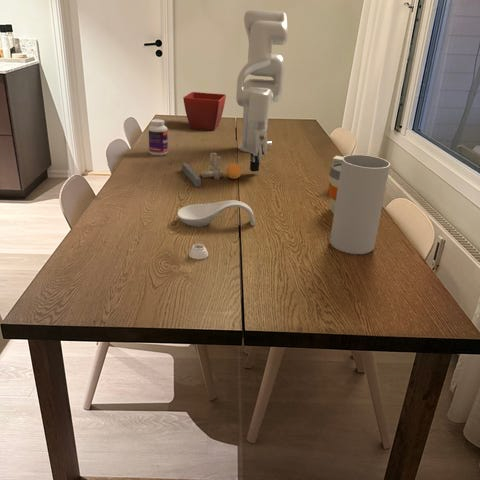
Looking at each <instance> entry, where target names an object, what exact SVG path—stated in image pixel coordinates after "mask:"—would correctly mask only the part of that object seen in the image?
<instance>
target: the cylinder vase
mask: <svg viewBox="0 0 480 480" xmlns="http://www.w3.org/2000/svg"><path fill="white" fill-rule="evenodd" d="M342 157H343V158H342V164H341V171H340V177H339V184H338V191H337V197H336V204H335V210H334V213H333V218H332V224H331V232H330V238H329V243H330V245H331V246H332V247H333V248H334V249H336V250H337V251H339V252H342V253H344V252H345V254H348V253H349V255H358V254H359V255H365V254H369V253H371V252H372V251H373V250H374V249H375V246H376V239H377V235H378V230H379V224H380V221H381V220H380V219H381V215H382V208H383V204H384V199H385V194H386V189H387V184H388V179H389V174H390V173H389V172H390V167H391V163H390V162H389V161H388V160H386V159H385V158H381V157H377V156H374V155H367V154H347V155H344V156H342Z"/></svg>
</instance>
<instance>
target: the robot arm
mask: <svg viewBox="0 0 480 480" xmlns="http://www.w3.org/2000/svg"><path fill="white" fill-rule="evenodd" d="M288 23H289V22H288V17H287V14H286V12H284V11H281V10H267V9H249V10H246V12H244V15H243V24H244V28H245V31H246V35H247V39H248V48H247V49H248V52H247V63H245V65H244V66H243V67H242V69H241V70H240V71H239V74H238V77H237V81H236V91H235V92H236V95H235V96H236V97H235V98H236V103H237V105H238V106H240V107H243V113H242V115H243V116H242V117H243V119H242V134H241V144H239V145H238V146H237V148H238V150H239V151H241V152H244V153H249V156H250V158H249V160H250V162H249V170H250V171H251V172H259V171H260V161H261V160H263V156H266V155H267V152H268V146H272V145H273V143H272V142H273V141H272V140H271V141H268V133H267V132H268V131H267V129H268V120H269V109H270V106H271V105H272V104H273V103H279V102H280V101H281V99H282V96H283V86H284V76H285V75H284V73H285V59H284V57H283V56H282V54H278V53H272V50H273V49H272V47H273V45H274V46H276V45H277V46H283V45H285V44H286V43H287V41H288V38H289V24H288ZM249 75H250V76H254V77H267V78H268V77H269V78H272V79H264V78H263V79H262V78H249V79H247V80H246V78H247V77H248V76H249Z"/></svg>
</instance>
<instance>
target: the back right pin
mask: <svg viewBox="0 0 480 480" xmlns="http://www.w3.org/2000/svg"><path fill="white" fill-rule="evenodd" d="M217 155H218V153H216V152H210V155H209V159H210V160H209V171H214V157H216V156H217Z"/></svg>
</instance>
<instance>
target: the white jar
mask: <svg viewBox="0 0 480 480" xmlns="http://www.w3.org/2000/svg"><path fill="white" fill-rule="evenodd" d="M188 256H189V257H190V258H192V259H194V260H203V259H206V258H208V257H209V252H208V250H207V248H206V246H205V245H204V244H203V243H195V244H193V245H192V248H191V249H190V251H189V252H188Z"/></svg>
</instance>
